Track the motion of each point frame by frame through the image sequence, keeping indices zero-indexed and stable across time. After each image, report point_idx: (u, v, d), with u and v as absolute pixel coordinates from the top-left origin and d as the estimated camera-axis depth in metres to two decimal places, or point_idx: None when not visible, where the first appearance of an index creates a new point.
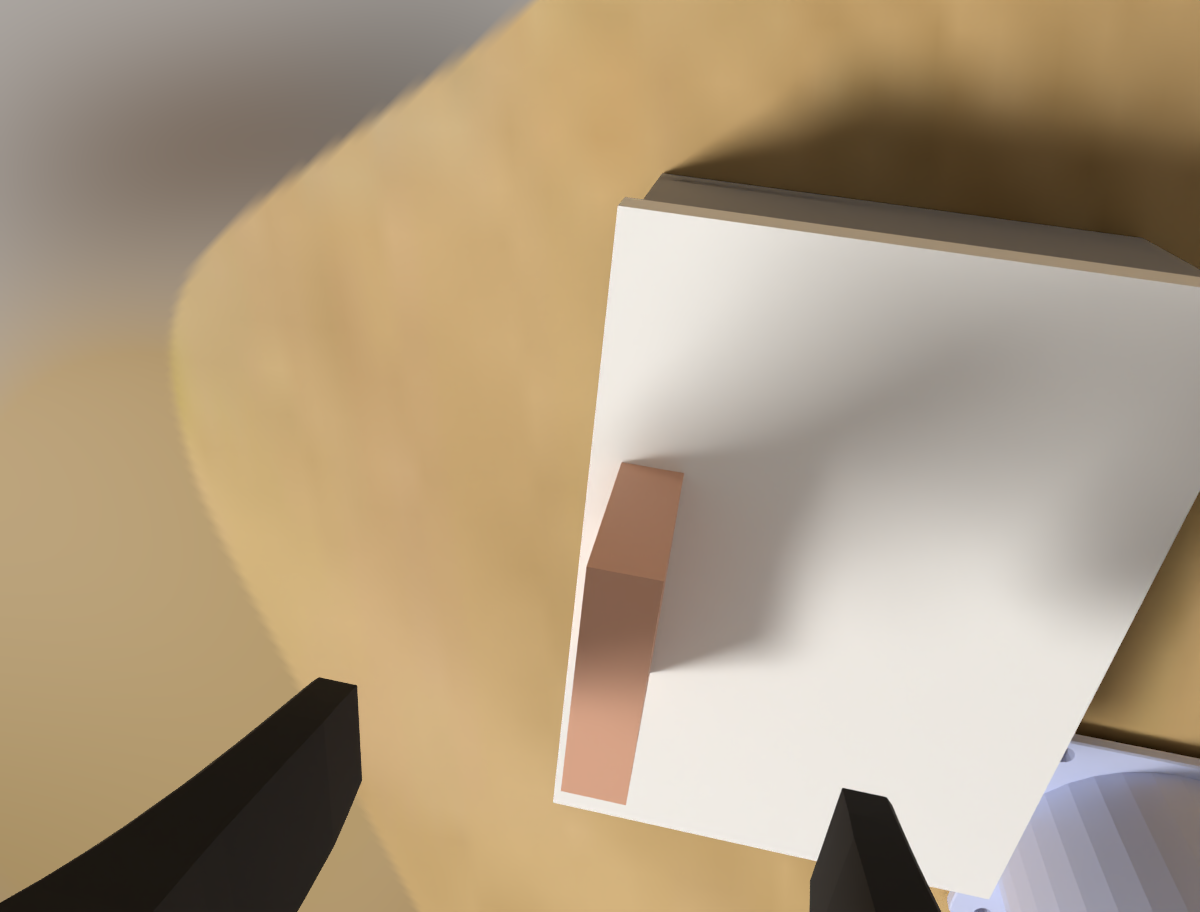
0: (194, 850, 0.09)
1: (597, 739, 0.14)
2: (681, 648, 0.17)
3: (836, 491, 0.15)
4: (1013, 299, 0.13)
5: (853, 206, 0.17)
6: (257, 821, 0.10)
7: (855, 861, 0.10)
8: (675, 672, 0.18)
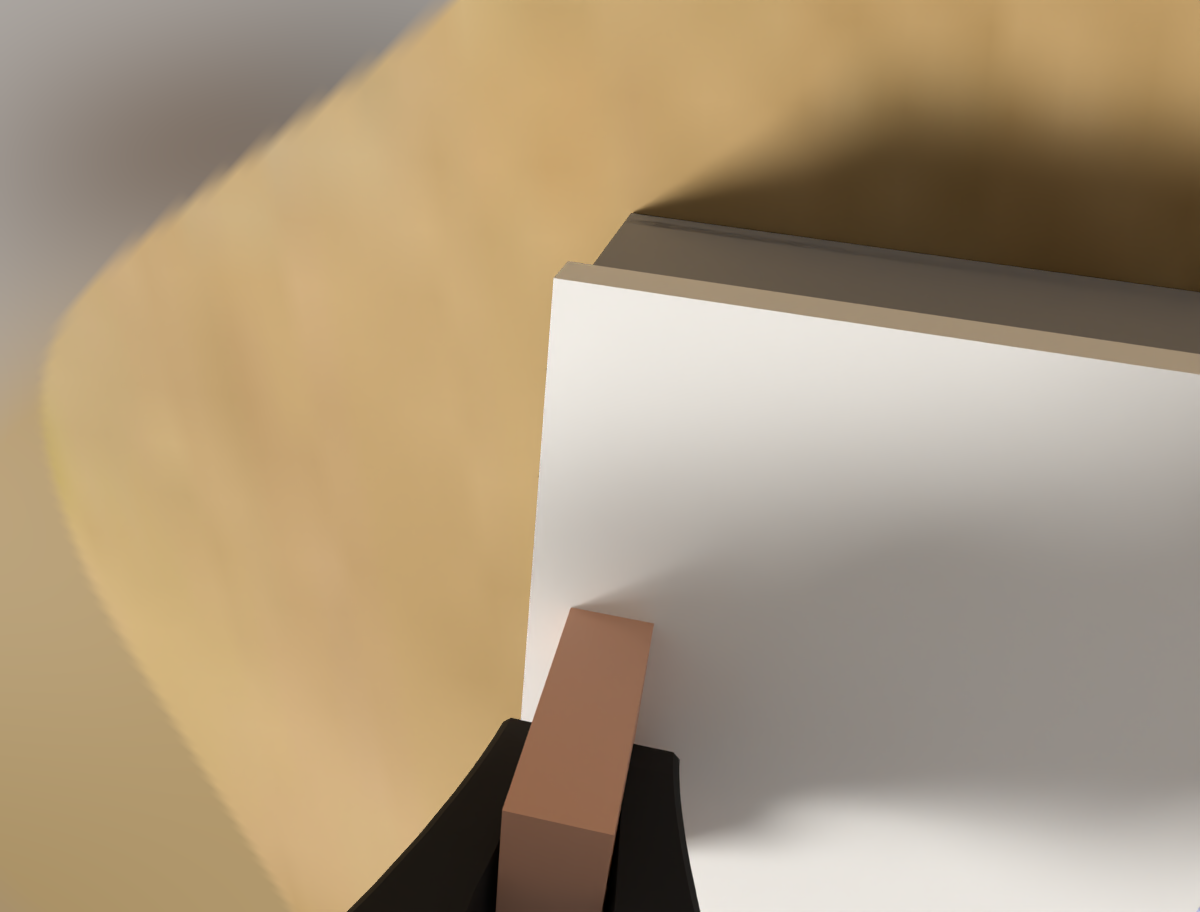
0: None
1: None
2: None
3: (859, 653, 0.11)
4: (1115, 414, 0.09)
5: (877, 259, 0.13)
6: (492, 876, 0.10)
7: None
8: None
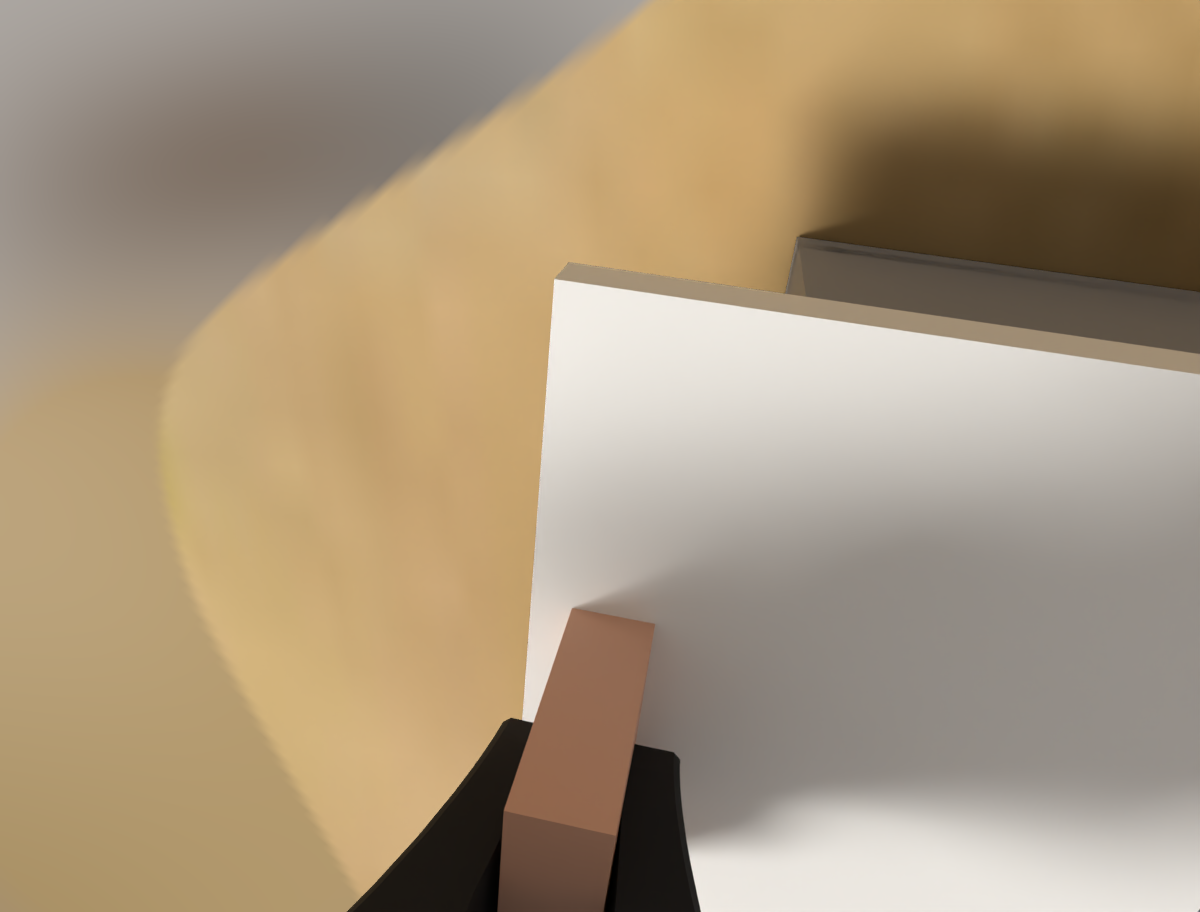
0: None
1: None
2: None
3: (860, 653, 0.11)
4: (1117, 414, 0.09)
5: (1065, 286, 0.13)
6: (492, 876, 0.10)
7: (622, 809, 0.10)
8: None
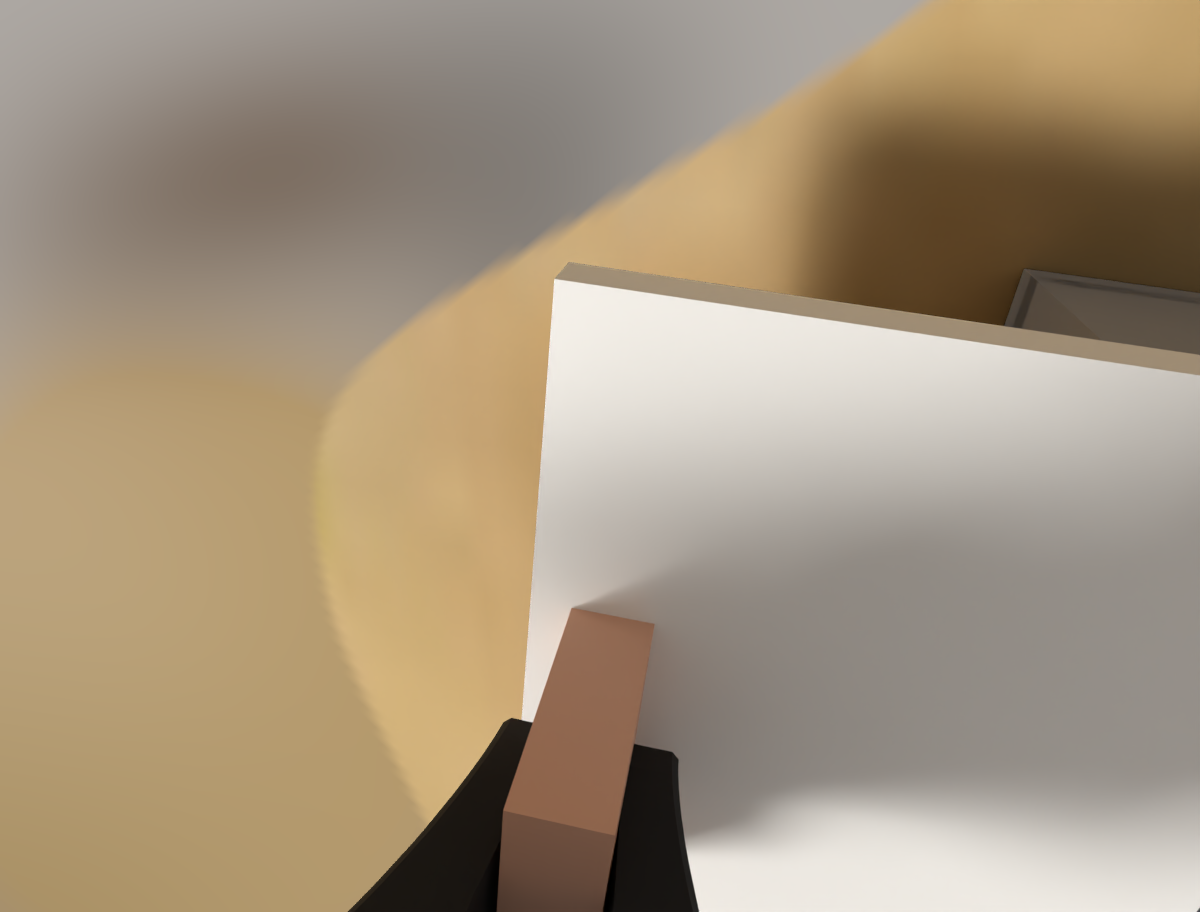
0: None
1: None
2: None
3: (859, 653, 0.11)
4: (1116, 415, 0.09)
5: None
6: (493, 876, 0.10)
7: None
8: None
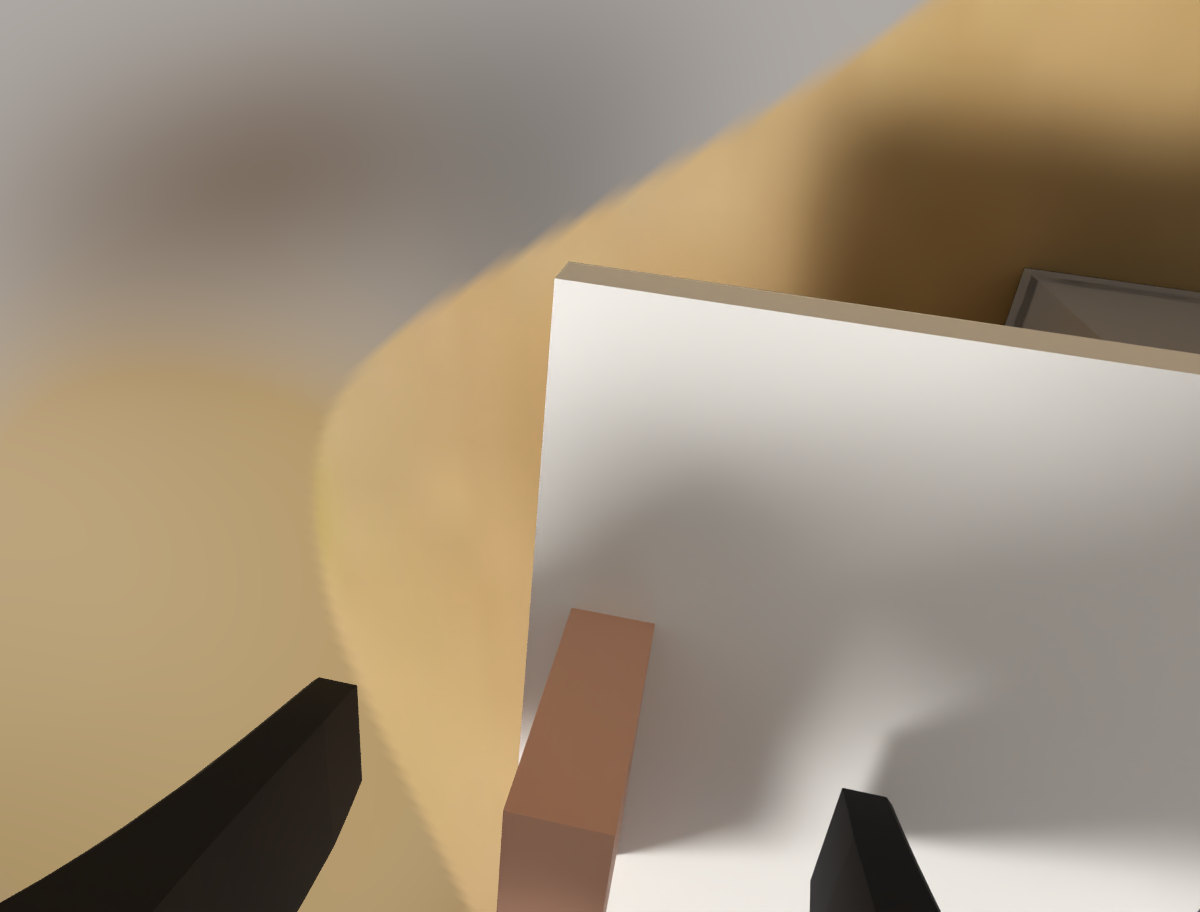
0: (194, 850, 0.09)
1: None
2: (656, 829, 0.14)
3: (860, 653, 0.11)
4: (1117, 415, 0.09)
5: None
6: (257, 821, 0.10)
7: (855, 861, 0.10)
8: (649, 855, 0.14)
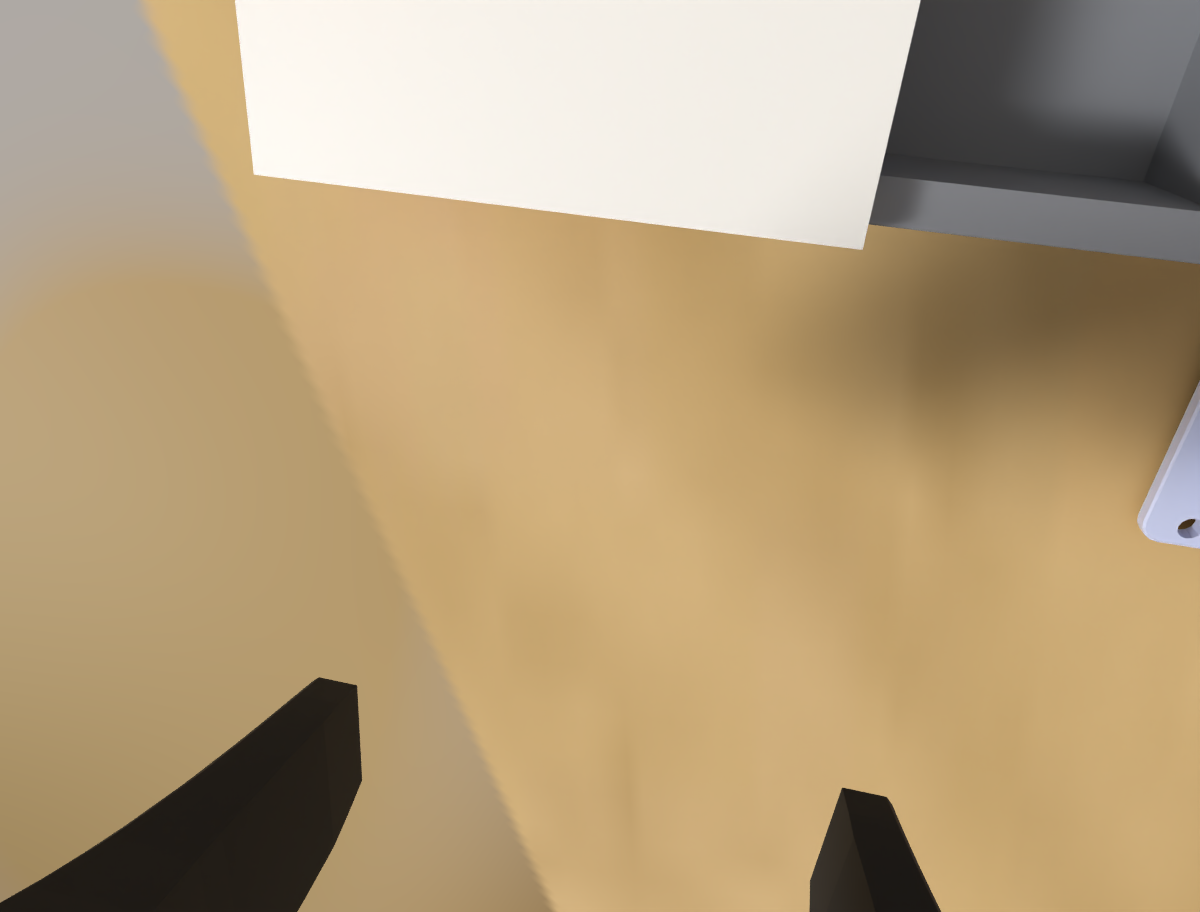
0: (194, 850, 0.09)
1: None
2: None
3: None
4: None
5: None
6: (257, 821, 0.10)
7: (855, 861, 0.10)
8: None
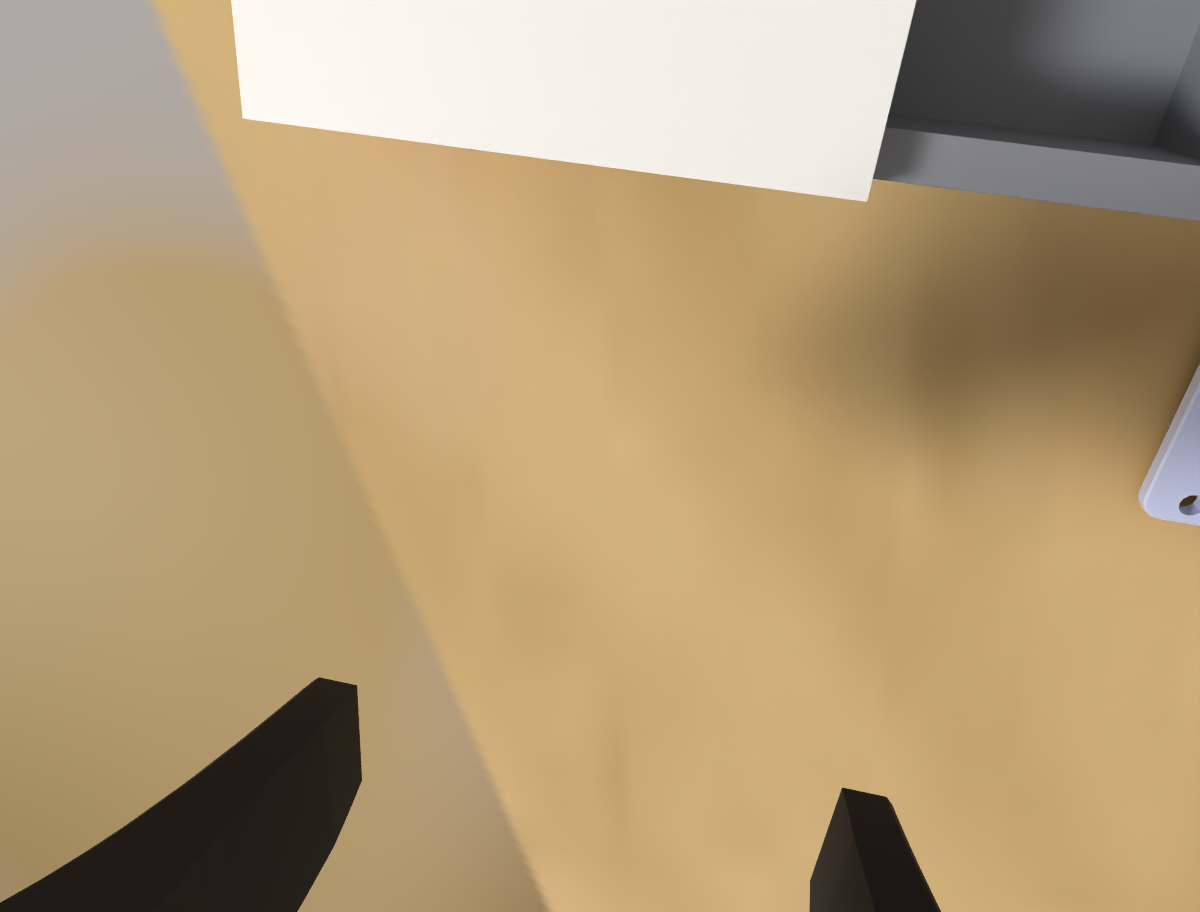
0: (194, 850, 0.09)
1: None
2: None
3: None
4: None
5: None
6: (257, 821, 0.10)
7: (855, 861, 0.10)
8: None
